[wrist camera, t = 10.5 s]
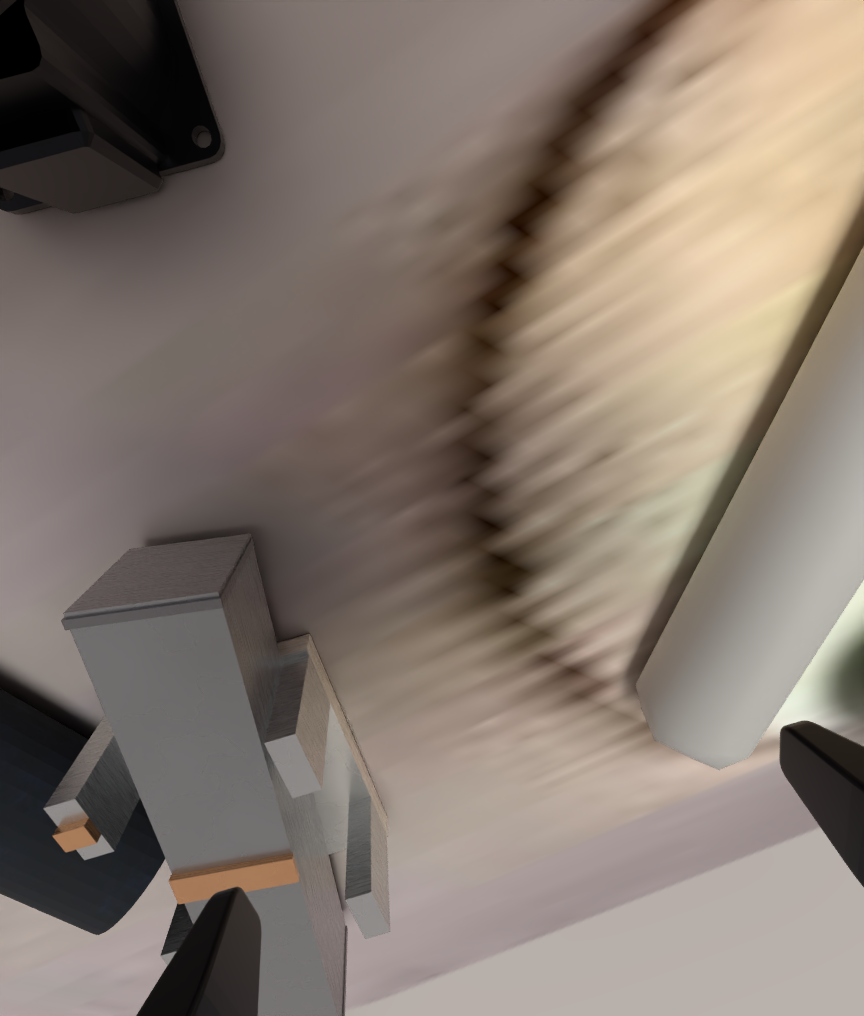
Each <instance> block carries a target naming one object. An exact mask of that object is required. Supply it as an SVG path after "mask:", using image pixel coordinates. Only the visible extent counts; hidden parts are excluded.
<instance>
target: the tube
mask: <svg viewBox="0 0 864 1016" xmlns="http://www.w3.org/2000/svg"><path fill="white" fill-rule="evenodd" d="M863 580H864V246H863V248H862V250H861V252H860V254H859V256H858V258H857V260H856V262H855V264H854V266H853V267H852V269H851V271H850V273H849V275H848V277H847V279H846V281H845V283H844V285H843V287H842V289H841V290H840V292H839V294H838V296H837V298H836V300H835V302H834V304H833V306H832V308H831V310H830V312H829V314H828V315H827V317H826V319H825V321H824V323H823V325H822V327H821V329H820V331H819V333H818V335H817V337H816V339H815V340H814V342H813V344H812V346H811V348H810V350H809V352H808V354H807V356H806V358H805V360H804V362H803V364H802V365H801V367H800V369H799V371H798V373H797V375H796V377H795V379H794V381H793V383H792V385H791V387H790V389H789V390H788V392H787V394H786V396H785V398H784V400H783V402H782V404H781V406H780V408H779V410H778V412H777V413H776V415H775V417H774V419H773V421H772V423H771V425H770V427H769V429H768V431H767V433H766V435H765V437H764V438H763V440H762V442H761V444H760V446H759V448H758V450H757V452H756V454H755V456H754V458H753V460H752V462H751V463H750V465H749V467H748V469H747V471H746V473H745V475H744V477H743V479H742V481H741V483H740V485H739V487H738V488H737V490H736V492H735V494H734V496H733V498H732V500H731V502H730V504H729V506H728V508H727V510H726V512H725V513H724V515H723V517H722V519H721V521H720V523H719V525H718V527H717V529H716V531H715V533H714V535H713V536H712V538H711V540H710V542H709V544H708V546H707V548H706V550H705V552H704V554H703V556H702V558H701V560H700V561H699V563H698V565H697V567H696V569H695V571H694V573H693V575H692V577H691V579H690V581H689V583H688V585H687V586H686V588H685V590H684V592H683V594H682V596H681V598H680V600H679V602H678V604H677V606H676V608H675V610H674V611H673V613H672V615H671V617H670V619H669V621H668V623H667V625H666V627H665V629H664V631H663V633H662V635H661V636H660V638H659V640H658V642H657V644H656V646H655V648H654V650H653V652H652V654H651V656H650V658H649V659H648V661H647V663H646V665H645V667H644V669H643V671H642V673H641V675H640V677H639V679H638V681H637V683H636V684H635V685H636V689H637V693H638V697H639V701H640V705H641V709H642V712H643V714H644V716H645V718H646V721H647V723H648V725H649V728H650V730H651V732H652V735H653V737H654V739H655V741H657V742H659V743H661V744H663V745H665V746H667V747H669V748H671V749H674V750H676V751H678V752H680V753H682V754H684V755H686V756H688V757H690V758H692V759H694V760H696V761H699V762H701V763H703V764H706V765H708V766H711V767H713V768H715V769H718V770H720V769H722V768H725V767H727V766H730V765H732V764H735V763H737V762H739V761H742V760H744V759H747V758H749V756H750V755H751V753H752V752H753V750H754V748H755V747H756V745H757V744H758V742H759V741H760V739H761V738H762V736H763V735H764V733H765V731H766V730H767V728H768V727H769V725H770V724H771V722H772V721H773V719H774V718H775V716H776V714H777V713H778V711H779V710H780V708H781V707H782V705H783V704H784V702H785V701H786V699H787V697H788V696H789V694H790V693H791V691H792V690H793V688H794V687H795V685H796V683H797V682H798V680H799V679H800V677H801V676H802V674H803V673H804V671H805V670H806V668H807V666H808V665H809V663H810V662H811V660H812V659H813V657H814V656H815V654H816V653H817V651H818V649H819V648H820V646H821V645H822V643H823V642H824V640H825V639H826V637H827V636H828V634H829V632H830V631H831V629H832V628H833V626H834V625H835V623H836V622H837V620H838V619H839V617H840V615H841V614H842V612H843V611H844V609H845V608H846V606H847V605H848V603H849V602H850V600H851V598H852V597H853V595H854V594H855V592H856V591H857V589H858V588H859V586H860V585H861V583H862V581H863Z"/></svg>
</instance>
